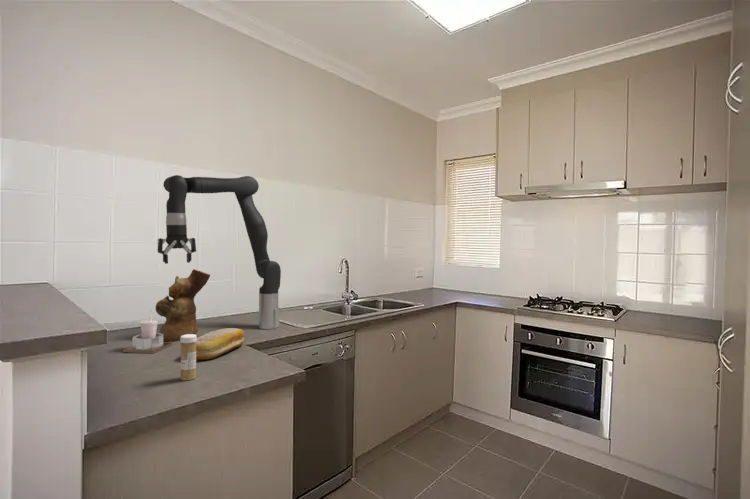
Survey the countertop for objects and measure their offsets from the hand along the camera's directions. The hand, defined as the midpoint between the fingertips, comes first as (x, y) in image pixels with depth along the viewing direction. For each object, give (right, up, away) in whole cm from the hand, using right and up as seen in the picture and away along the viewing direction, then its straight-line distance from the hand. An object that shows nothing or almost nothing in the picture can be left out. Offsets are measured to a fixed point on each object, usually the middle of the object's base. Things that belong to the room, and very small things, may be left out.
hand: (177, 263), depth 162 cm
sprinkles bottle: (+24, -35, -41) cm, 59 cm away
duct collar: (-7, -33, -9) cm, 35 cm away
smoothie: (-7, -33, -9) cm, 35 cm away
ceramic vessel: (-3, -33, +10) cm, 35 cm away
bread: (+21, -34, -12) cm, 42 cm away
